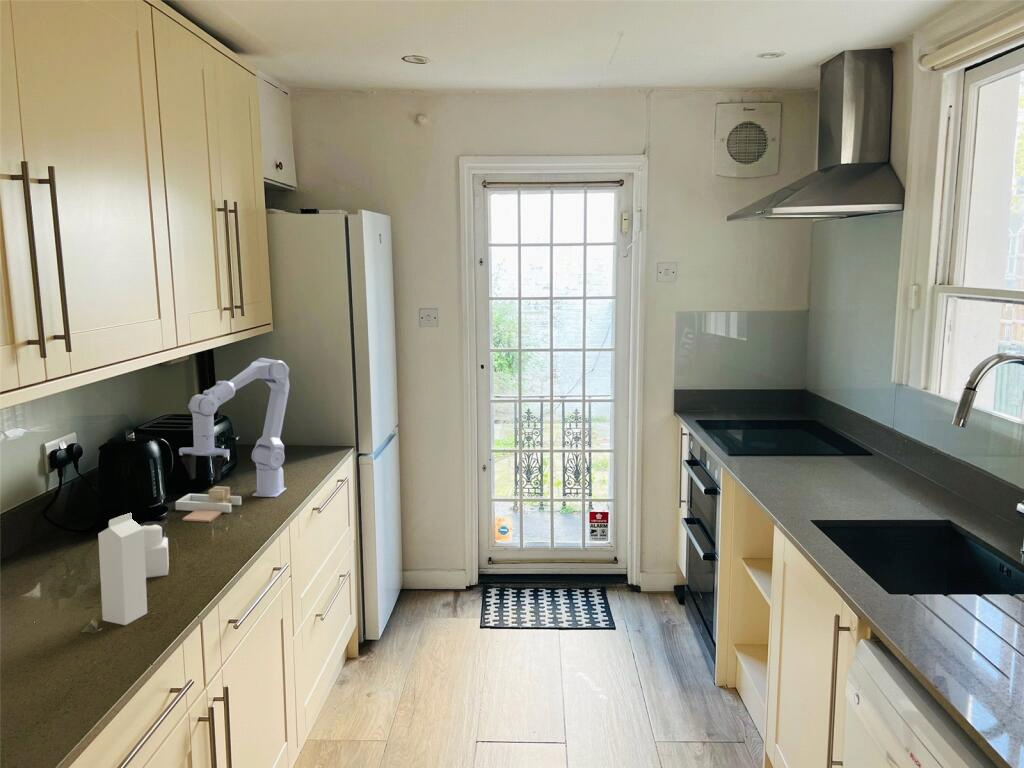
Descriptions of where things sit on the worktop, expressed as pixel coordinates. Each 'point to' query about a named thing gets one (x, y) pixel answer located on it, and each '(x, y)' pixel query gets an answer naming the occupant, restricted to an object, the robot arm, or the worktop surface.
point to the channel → (205, 503)
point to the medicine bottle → (155, 549)
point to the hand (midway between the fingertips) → (205, 479)
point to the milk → (122, 570)
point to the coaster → (202, 515)
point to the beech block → (219, 494)
